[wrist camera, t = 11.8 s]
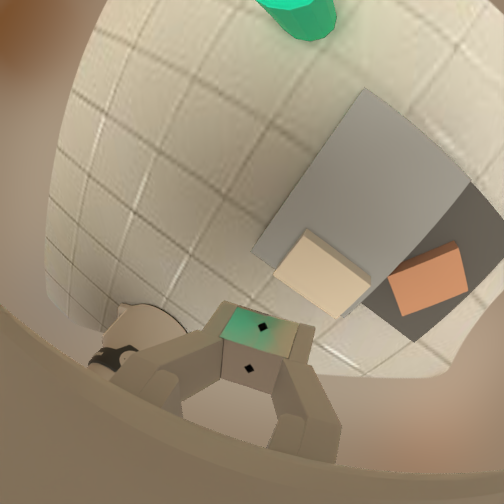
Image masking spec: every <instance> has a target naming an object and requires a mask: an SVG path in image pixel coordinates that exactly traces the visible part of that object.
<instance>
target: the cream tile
mask: <svg viewBox="0 0 504 504" xmlns="http://www.w3.org/2000/svg"><path fill="white" fill-rule="evenodd" d="M273 276H275V277H276V278H278V279H279V280H280V281H282V282H283V283H285V284H286V285H288V286H289V287H290V288H292V289H293V290H295V291H296V292H297V293H299V294H300V295H302V296H303V297H305V298H306V299H307V300H309V301H310V302H312V303H313V304H315V305H316V306H317V307H319V308H320V309H322V310H323V311H324V312H326V313H327V314H329V315H330V316H332V317H333V318H334V319H337V318H338V317H339V316H340V315H341V314H342V313H343V312H345V311H346V310H347V309H348V308H349V307H350V306H351V305H352V304H353V303H354V302H355V301H356V300H357V299H358V298H359V297H360V296H361V295H362V294H363V293H364V292H365V291H366V290H367V289H368V288H369V287H370V286H371V276H370V275H368V274H367V273H366V272H364V271H363V270H362V269H361V268H359V267H358V266H357V265H355V264H354V263H353V262H351V261H350V260H349V259H347V258H346V257H345V256H344V255H342V254H341V253H340V252H338V251H337V250H336V249H334V248H333V247H332V246H330V245H329V244H328V243H326V242H325V241H323V240H322V239H321V238H319V237H318V236H317V235H315V234H314V233H313V232H311V231H310V230H308V229H306V230H305V231H304V232H303V234H302V235H301V236H300V238H299V239H298V240H297V241H296V243H295V244H294V245H293V247H292V248H291V249H290V250H289V252H288V253H287V254H286V256H285V257H284V258H283V259H282V261H281V262H280V263H279V264H278V266H277V267H276V269H275V271H274V273H273Z"/></svg>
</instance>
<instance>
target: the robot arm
mask: <svg viewBox="0 0 504 504" xmlns="http://www.w3.org/2000/svg"><path fill="white" fill-rule="evenodd" d="M298 325H299V326H298ZM296 332H297V333H296ZM314 333H315V327H314V326H310V325H306V324H302V323H300V324H299V323H297V322H293V321H289V320H286V319H282V318H279V317H275V316H271V315H268V314H265V313H262V312H259V311H256V310H253V309H250V308H247V307H243V306H240V305H237V304H234V303H231V302H228V301H223V302H222V303H221V304H220V305H219V307H218V308H217V310H216V311H215V313H214V314H213V315H212V317H211V318H210V320H209V321H208V323H207V324H206V326H205V327H204V329H203V330H202V331H199V330H196V331H193V332H190V333H188V334H187V333H186V332H185V330H184V329H183V328H182V327H181V325H180V324H179V323H178V322H177V321H176V320H175V319H173V318H172V317H171V316H170V315H168V314H167V313H165V312H164V311H162V310H160V309H158V308H156V307H153V306H150V305H145V304H139V305H134V306H131V305H127V304H120V306H119V307H118V314H117V320H116V321H115V322H114V323H113V324H112V325H111V326H110V327H109V329H108V330H107V331H106V332H105V333H104V334H103V336H102V339H103V340H102V344H103V348H101V349H100V350H99V351H98V352H97V353H96V354H95V355H94V356H93V357H92V359H91V360H90V361H89V363H88V367H87V368H85V367H84V366H83V365H81V364H79V363H78V362H76V361H75V360H73V359H72V358H70V357H69V356H67V355H66V354H64V353H63V352H61V351H60V350H58V349H57V348H56V347H54V346H53V345H51V344H50V343H49V342H47V341H46V340H44V339H43V338H42V337H40V336H39V335H38V334H37V333H35V332H34V331H33V330H31V329H30V328H29V327H27V326H26V325H25V324H24V323H22V322H21V321H20V320H19V319H18V318H16V317H15V316H14V315H13V314H12V313H10V312H9V311H8V310H7V309H6V308H4V307H3V306H2V305H1V304H0V504H504V470H497V471H488V472H476V473H456V474H422V473H421V474H420V473H402V472H389V471H379V470H369V469H362V468H355V467H348V466H342V465H336V464H335V463H336V457H337V452H338V447H339V441H340V435H341V429H342V425H341V423H340V421H339V419H338V417H337V415H336V413H335V411H334V409H333V407H332V405H331V403H330V401H329V399H328V397H327V395H326V393H325V391H324V389H323V387H322V385H321V383H320V381H319V379H318V377H317V375H316V373H315V371H314V369H313V367H312V366H311V365H308V364H307V363H308V359H309V354H310V350H311V346H312V342H313V337H314ZM220 378H222V379H225V380H228V381H231V382H234V383H238V384H241V385H244V386H247V387H250V388H253V389H256V390H259V391H262V392H265V393H268V394H271V397H272V400H273V404H274V408H275V411H276V415H277V418H278V422H277V424H276V427H275V429H274V431H273V434H272V436H271V438H270V440H269V442H268V445H267V447H266V448H264V447H261V446H257V445H254V444H251V443H247V442H245V441H242V440H238V439H236V438H232V437H230V436H227V435H224V434H221V433H219V432H216V431H213V430H210V429H208V428H205V427H203V426H200V425H198V424H195V423H193V422H190V421H188V420H186V419H183V415H182V406H181V402H182V401H184V400H186V399H187V398H189V397H191V396H193V395H194V394H196V393H198V392H199V391H201V390H203V389H205V388H206V387H208V386H210V385H211V384H213V383H215V382H216V381H218V380H220Z"/></svg>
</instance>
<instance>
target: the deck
mask: <svg viewBox="0 0 504 504" xmlns="http://www.w3.org/2000/svg"><path fill="white" fill-rule="evenodd" d="M470 181H471V179H470V178H469V177H468V176H467V174H466V173H465V172H464V171H463V170H462V169H461V168H460V167H459V166H458V165H457V164H456V163H455V162H454V161H453V160H452V159H451V158H450V157H449V156H448V155H447V154H446V153H445V152H444V151H443V150H441V149H440V148H439V147H438V146H437V145H436V144H435V143H434V142H433V141H432V140H431V139H429V138H428V137H427V136H426V135H425V134H424V133H423V132H422V131H420V130H419V129H418V128H417V127H416V126H415V125H413V124H412V123H411V122H410V121H409V120H407V119H406V118H405V117H404V116H402V115H401V114H400V113H399V112H397V111H396V110H395V109H394V108H392V107H391V106H390V105H388V104H387V103H386V102H384V101H383V100H382V99H380V98H379V97H378V96H376V95H375V94H373V93H372V92H371V91H369V90H368V89H366V88H365V87H364V89H363V90H362V91H361V93H360V94H359V96H358V97H357V99H356V100H355V101H354V103H353V104H352V106H351V107H350V109H349V110H348V112H347V113H346V114H345V116H344V117H343V119H342V120H341V122H340V123H339V124H338V126H337V127H336V129H335V130H334V132H333V133H332V135H331V136H330V137H329V139H328V140H327V142H326V143H325V145H324V146H323V147H322V149H321V150H320V152H319V153H318V155H317V156H316V158H315V159H314V160H313V162H312V163H311V165H310V166H309V168H308V169H307V170H306V172H305V173H304V175H303V176H302V178H301V179H300V181H299V182H298V183H297V185H296V186H295V188H294V189H293V191H292V192H291V193H290V195H289V196H288V198H287V199H286V201H285V202H284V204H283V205H282V206H281V208H280V209H279V211H278V212H277V214H276V215H275V217H274V218H273V219H272V221H271V222H270V224H269V225H268V227H267V228H266V230H265V231H264V232H263V234H262V235H261V237H260V238H259V240H258V241H257V243H256V244H255V245H254V247H253V248H252V250H251V251H250V252H251V253H253V254H254V255H256V256H257V257H258V258H260V259H261V260H263V261H264V262H265V263H267V264H268V265H270V266H271V267H272V268H274V269H276V267H277V266H278V264H279V263H280V262H281V261H282V259H283V258H284V257H285V256H286V254H287V253H288V252H289V250H290V249H291V248H292V247H293V245H294V244H295V243H296V241H297V240H298V239H299V238H300V236H301V235H302V234H303V232H304V231H305V230H306V229H308V230H310V231H311V232H313V233H314V234H315V235H317V236H318V237H319V238H321V239H322V240H323V241H325V242H326V243H328V244H329V245H330V246H332V247H333V248H334V249H336V250H337V251H338V252H340V253H341V254H342V255H344V256H345V257H346V258H347V259H349V260H350V261H351V262H353V263H354V264H355V265H357V266H358V267H359V268H361V269H362V270H363V271H364V272H366V273H367V274H368V275H370V276H371V286H370V287H369V288H368V289H367V290H366V291H365V292H364V293H363V294H362V295H361V296H360V297H359V298H358V299H357V300H356V301H355V302H354V303H353V304H352V305H351V306H350V307H349V308H348V309H347V310H346V311H345V312H343V313H342V314H341V315H340V316H342V317H343V318H345V317H346V316H347V315H348V314H349V313H350V312H351V311H353V310H354V309H355V308H356V307H357V306H358V305H359V304H360V303H361V302H362V301H363V300H364V299H365V298H366V297H367V296H368V295H369V294H370V293H371V292H373V291H374V290H375V289H376V288H377V287H378V286H379V285H380V284H381V283H382V282H383V281H384V280H385V279H386V278H387V277H388V276H389V275H390V274H391V273H392V272H393V270H394V269H395V268H396V267H397V266H398V265H399V264H400V263H401V262H402V261H403V260H404V259H405V258H406V257H407V256H408V255H409V254H410V253H411V251H412V250H413V249H414V248H415V247H416V246H417V245H418V244H419V243H420V242H421V240H422V239H423V238H424V237H425V236H426V235H427V234H428V233H429V231H430V230H431V229H432V228H433V227H434V226H435V225H436V223H437V222H438V221H439V220H440V219H441V218H442V216H443V215H444V214H445V213H446V212H447V210H448V209H449V208H450V207H451V205H452V204H453V203H454V202H455V201H456V199H457V198H458V197H459V196H460V194H461V193H462V192H463V190H464V189H465V188H466V187H467V185H468V184H469V183H470Z"/></svg>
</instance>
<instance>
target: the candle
mask: <svg viewBox="0 0 504 504" xmlns="http://www.w3.org/2000/svg"><path fill="white" fill-rule="evenodd" d="M256 1H257V2H258V3H259V4H260V5H261V6H262V7H263V8H264V9H265V10H266V11H267V12H268V13H269V14H270V15H271V16H272V17H273V18H274V19H275V20H276V21H277V22H278V24H279V25H280V26H281V27H282V28H283V29H284V30H285V31H286V32H288V33H289V34H290V35H292V36H293V37H294V38H296V39H301V40H306V41H313V40H317V39H321V38H324V37H326V36H327V35H328V34H329V33H330V32H331V31H332V30H333V29H334V26H335V22H336V17H337V16H336V12H335V7H334V3H333V0H256Z"/></svg>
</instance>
